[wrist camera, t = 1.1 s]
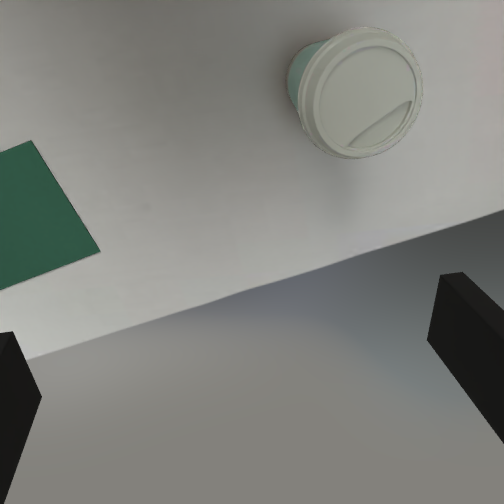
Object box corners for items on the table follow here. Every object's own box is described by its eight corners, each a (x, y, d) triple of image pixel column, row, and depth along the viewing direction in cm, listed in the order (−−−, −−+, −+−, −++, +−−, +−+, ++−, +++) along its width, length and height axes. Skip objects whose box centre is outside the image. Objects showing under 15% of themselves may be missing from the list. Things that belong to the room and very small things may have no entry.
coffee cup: (271, 130, 40) (303, 171, 29) (269, 27, 35) (305, 31, 25) (359, 123, 40) (421, 160, 30) (367, 21, 36) (442, 23, 26)
